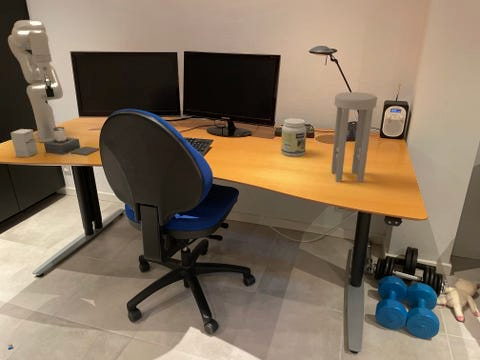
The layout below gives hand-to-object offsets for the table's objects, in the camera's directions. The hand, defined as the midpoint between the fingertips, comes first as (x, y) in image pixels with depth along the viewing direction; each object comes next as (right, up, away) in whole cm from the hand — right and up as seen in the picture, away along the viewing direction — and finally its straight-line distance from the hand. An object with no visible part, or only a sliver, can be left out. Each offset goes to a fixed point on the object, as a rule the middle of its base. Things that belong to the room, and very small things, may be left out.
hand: (50, 95), depth 183 cm
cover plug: (-1, -25, +16) cm, 30 cm away
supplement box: (-17, -29, +10) cm, 34 cm away
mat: (+12, -26, +13) cm, 32 cm away
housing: (-1, -25, +16) cm, 30 cm away
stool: (+139, -40, -20) cm, 146 cm away
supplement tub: (+120, -28, +8) cm, 123 cm away
